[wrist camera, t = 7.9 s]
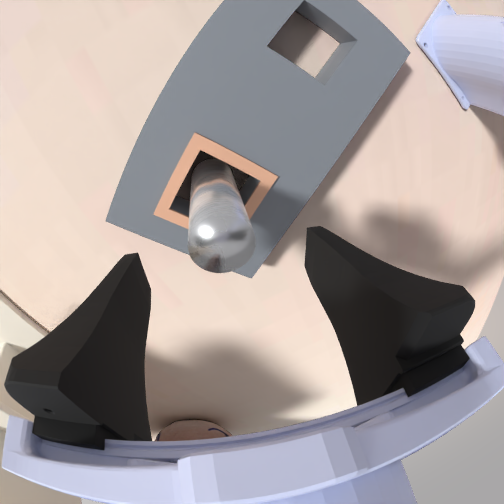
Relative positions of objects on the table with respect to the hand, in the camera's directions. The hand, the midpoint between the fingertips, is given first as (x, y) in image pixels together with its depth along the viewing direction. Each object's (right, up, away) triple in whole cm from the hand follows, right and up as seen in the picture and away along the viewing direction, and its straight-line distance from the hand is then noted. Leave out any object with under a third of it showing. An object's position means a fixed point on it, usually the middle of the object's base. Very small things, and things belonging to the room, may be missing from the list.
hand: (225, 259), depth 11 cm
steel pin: (-2, +6, +8) cm, 10 cm away
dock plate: (+1, +10, +6) cm, 11 cm away
